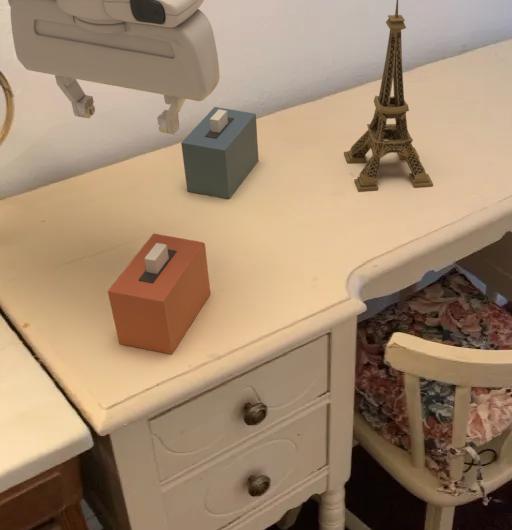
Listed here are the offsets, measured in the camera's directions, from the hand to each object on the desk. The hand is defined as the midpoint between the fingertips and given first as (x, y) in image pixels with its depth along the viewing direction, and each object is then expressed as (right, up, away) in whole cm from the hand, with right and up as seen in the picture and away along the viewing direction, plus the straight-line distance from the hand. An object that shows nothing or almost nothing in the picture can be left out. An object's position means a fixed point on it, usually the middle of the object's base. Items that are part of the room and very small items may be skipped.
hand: (127, 123), depth 86 cm
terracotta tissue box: (+3, -20, +6) cm, 21 cm away
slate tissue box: (+5, +2, +29) cm, 29 cm away
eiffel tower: (+27, +4, +32) cm, 42 cm away
